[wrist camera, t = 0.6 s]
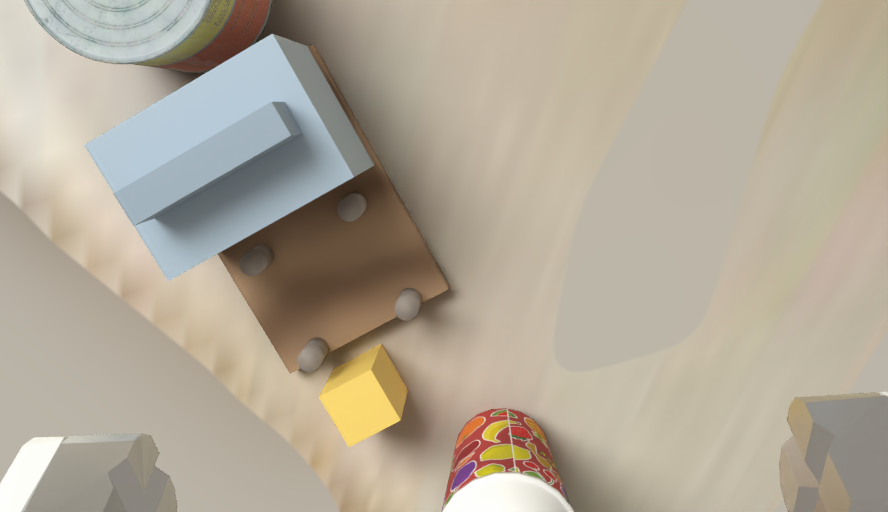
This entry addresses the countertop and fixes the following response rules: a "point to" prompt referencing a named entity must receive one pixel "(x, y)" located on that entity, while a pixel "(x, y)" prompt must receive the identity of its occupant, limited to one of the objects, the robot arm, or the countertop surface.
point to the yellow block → (364, 395)
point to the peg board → (335, 264)
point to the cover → (229, 153)
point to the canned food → (154, 30)
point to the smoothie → (504, 467)
